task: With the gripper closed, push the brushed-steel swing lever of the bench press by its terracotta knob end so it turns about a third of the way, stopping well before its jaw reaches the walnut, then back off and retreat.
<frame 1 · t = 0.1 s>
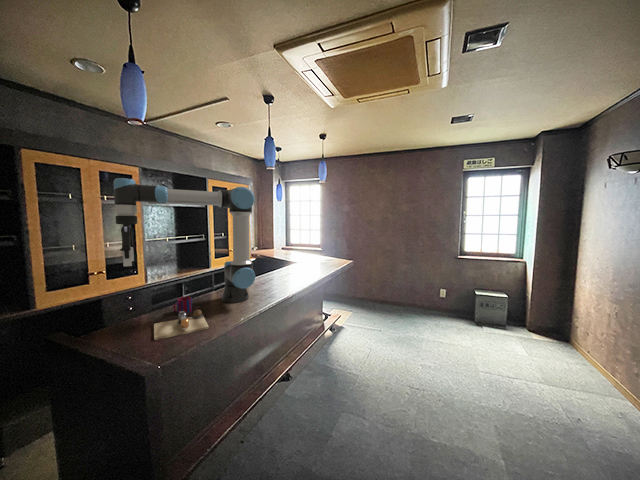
hand: (129, 263, 112), 28 cm above the table, fingers open, 13 cm apart
mug: (182, 312, 130), on the table
press base: (181, 327, 112), on the table
lever: (183, 319, 113), point 4 cm above the table, hinge at 0.0°
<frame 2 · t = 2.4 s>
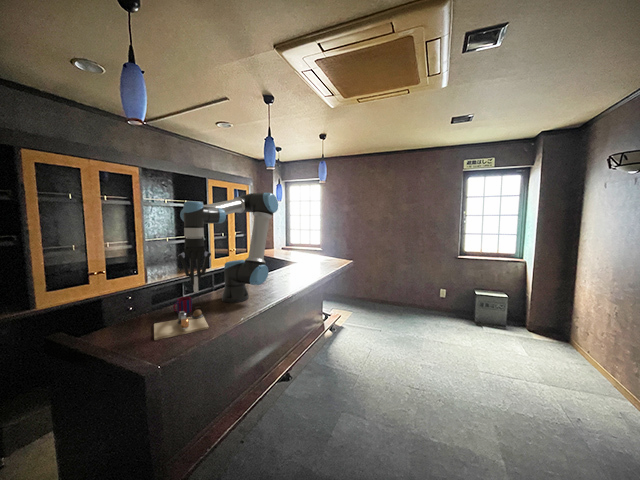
hand: (195, 291, 111), 16 cm above the table, fingers closed
nothing on the table moved.
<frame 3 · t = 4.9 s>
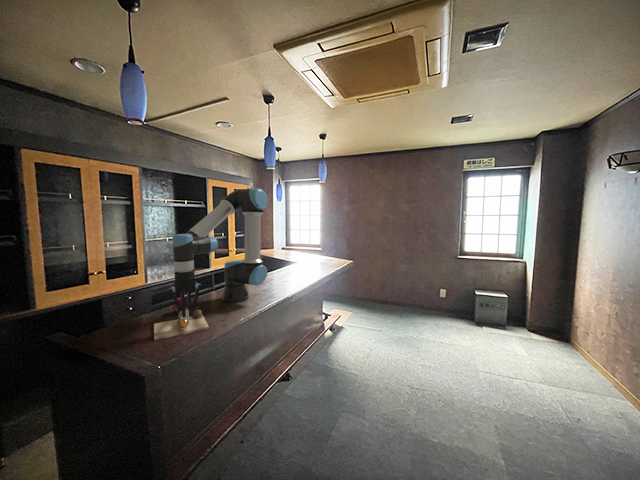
hand: (187, 323, 110), 2 cm above the table, fingers closed
lever: (183, 319, 113), point 4 cm above the table, hinge at 2.7°, touching gripper
everything else where it was.
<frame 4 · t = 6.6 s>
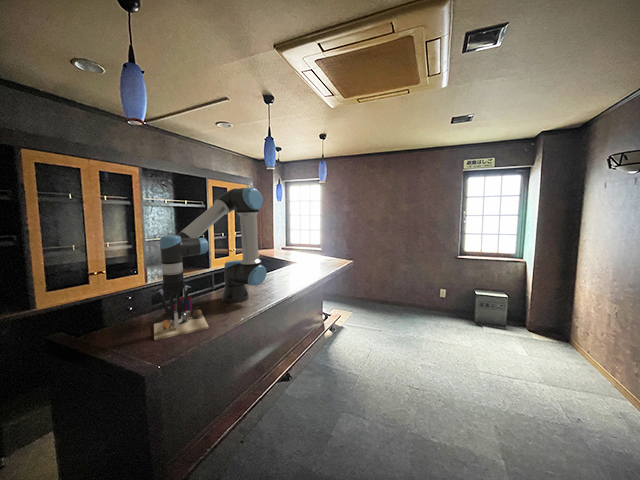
hand: (176, 326, 108), 2 cm above the table, fingers closed
lever: (177, 319, 112), point 4 cm above the table, hinge at 41.0°, touching gripper
everything else where it was.
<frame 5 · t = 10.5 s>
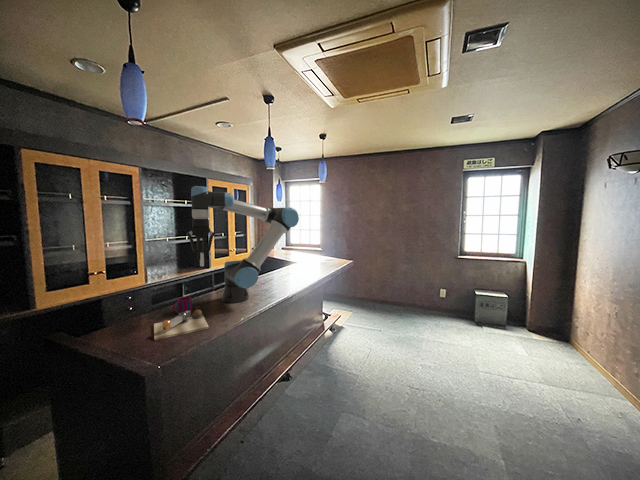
hand: (202, 265, 127), 24 cm above the table, fingers closed
lever: (177, 319, 112), point 4 cm above the table, hinge at 41.2°
everything else where it was.
at the end: lever at +41° (first picture: +0°); lever touching nothing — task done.
